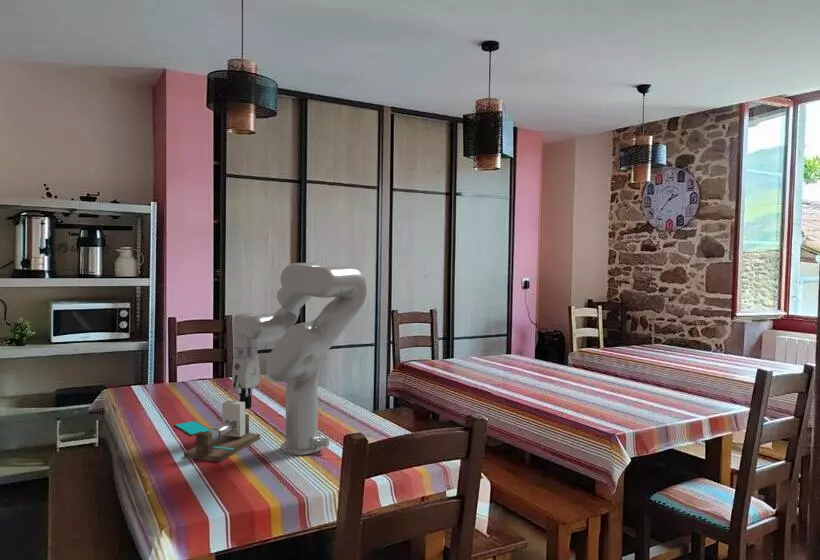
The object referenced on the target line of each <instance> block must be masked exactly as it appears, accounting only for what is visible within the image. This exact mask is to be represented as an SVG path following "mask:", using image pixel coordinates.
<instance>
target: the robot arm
mask: <svg viewBox="0 0 820 560" xmlns="http://www.w3.org/2000/svg"><path fill="white" fill-rule="evenodd" d="M280 284H281V288H279V289H278V291H277V294H276V299H277V301H278V304H279V305H280V308H278V309H277V310H276V311H275V312H271V313H263V314H255V313H248V312H247V313H246V312H245V313H237V314H235V315H234V316H233V319H232V333H233V334H232V336H233V337H232V339H233V340H232V343H233V344H232V345H233V349H232V350H233V351H232V353H233V354H232V356H233V357H232V358H233V361H232V371H231V384H232V388H233V389H234V394H238V396H239V402H245V410H249V409H251V408H252V395H253V390H254V388H255V387H256V386H257V385H259V384H260V382H261V367H260V360H259V355H258V340H262V339H267V338H273V337H279V336H281V335H282V336H281V338H280V339H279V340H278V342H277V343H276V344H275V346H274V347H273V348H272V350H271V351H270V353H269V354H268V356H267V359H266V362H265V363H266V364H265V369H266V370H265V371H266V373H267V376H268V377H269V378H270V379H271V380H273V381H275V382H279V383H284V382H287V384H286V389H285V441H284V442H283V443H281V444H280V451H281V452H282V453H283V454H285V455H290V456H291V455H292V456H306V455H312V454H315V453H318V452H320V451H321V450H322V449H323V448H324V447H326V448H327V447H330V439H329V437H322V435H321V432H318V392H319V391H318V388H319V387H318V385H319V377H320V371H321V364H322V358H321V357H322V356H321V353H325V352H327V351H328V350H329V349H330V348H332V346H333V345H334V343H335V342H337V339H338V338H339V337H340V336H341V334H343V332H344V331H345V330H346V328H347V327H348V325H349V324H350V323H351V322H352V320H353V319H355V317H356V316H357V314H358V313H359V312H360V311H361V309H362V307H363V306H364V304H365V301H366V299H367V298H366V297H367V290H368V287H367V281H366V278H365V276H364V274H363V273H362V272H361V271H360V270H359V269H356V268H355V267H351V266H326V267H325V266H322V265H320V264H317V263H315V262H294V263H290V264H288V265H286V267H284V269H283V270H282V272H281V274H280ZM313 297H314V298H324V299H325V298H334V299H332V300H331V301H329V303H327V304H326V305H325V306H324V308H323V309H322V310H321V311H320V313H319V314H318V315H317V317H315V318H314V319H313V320H311V321H307V322H300V323H297V324H296V322H297V321H298V319H299V316H300V313H301V308H302V307H303V306H304V305H305V304H306V303H307V302H308V301H310V300H311V299H312V298H313Z"/></svg>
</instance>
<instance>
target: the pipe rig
mask: <svg viewBox="0 0 820 560" xmlns="http://www.w3.org/2000/svg"><path fill="white" fill-rule="evenodd" d="M235 429H236V430H237V421H234V420H231V421H230V422H228V423H226V424H224V425H220V426H217V427H216V428H213V429H210V430H211V431H209V432H201V431H200V432H198V433H196V435H195V446H193V447H192V448H191V449H188V450H186V451H185V452H183V458H184V459H191V460H192V459H193V460H198V461H199V460H201V461H210V462H217V463H221V462H223V461H225V460H227V459H228V458H229V457H231V456H233V455H235V454H237V453H238V452H240V451H242V450H243V449H245V448H247V447H248V446H250V445H252V444H254V443H256V442H257V441H259V440H260V439H261V433H253V432H250V414H246V413H245V435H243V436H241V437H235V436H225V435H226V434H228V433H230V432H232V431H234V430H235Z"/></svg>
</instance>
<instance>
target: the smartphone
mask: <svg viewBox="0 0 820 560" xmlns="http://www.w3.org/2000/svg"><path fill="white" fill-rule="evenodd" d="M173 426H174V427H175V426H176V427H177V428H176V427H175V428H176V429H178V428H179V429H178V430H180V429H181V430H182V431H181V430H180V431H181V432H183V431H184V432H183V433H185V434H186V433H187V435H188V434H189V436H190V437H194V436H193V435H195V436H196V433H198V432H200V431H201V432H209V431H211V430H212V429H211V428H208V427H207V426H205V425H203V424H201V423H199V422H197V421H196V420H193V421H186V422H182V423H176V424H174V425H173Z"/></svg>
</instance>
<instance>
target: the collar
mask: <svg viewBox="0 0 820 560" xmlns="http://www.w3.org/2000/svg"><path fill="white" fill-rule="evenodd" d="M221 405H222V408H221V410H222V413H221V414H222V417H221V418H222V421H221V422H222V425H224V424H226V423H228V422H230V421H232V420H234V421H237V430H236V429H235V430H234V431H232V432H230V433H228V434H226V435H225V436H235V437H241V436H243V435H245V414H246V409H245V402H240V401H237V400H225V401H224V402H221ZM222 425H221V426H222Z"/></svg>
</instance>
